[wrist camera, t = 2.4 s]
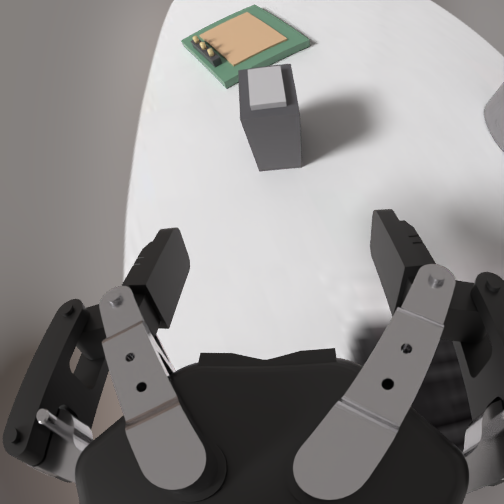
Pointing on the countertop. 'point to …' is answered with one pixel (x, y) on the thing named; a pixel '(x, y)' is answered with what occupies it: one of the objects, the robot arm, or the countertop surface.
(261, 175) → the countertop surface
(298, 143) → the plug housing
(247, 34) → the circuit board
